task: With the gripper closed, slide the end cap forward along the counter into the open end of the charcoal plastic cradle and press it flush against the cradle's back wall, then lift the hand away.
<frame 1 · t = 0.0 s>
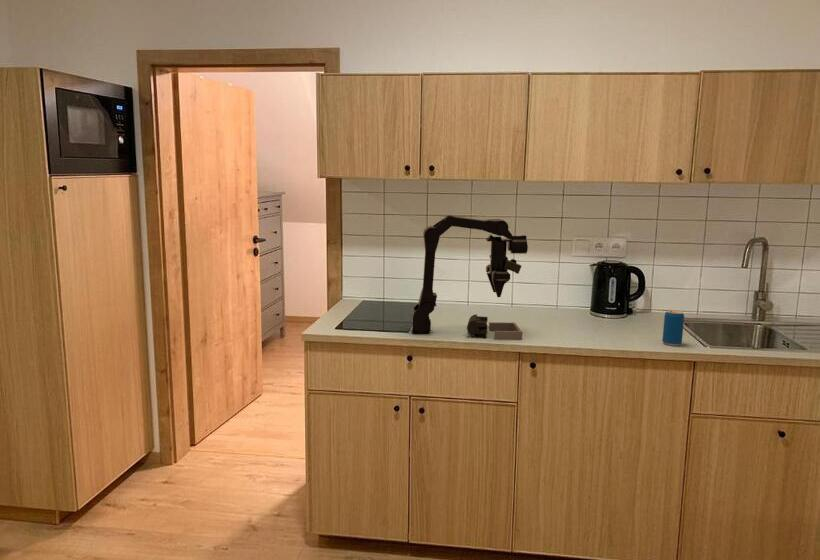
hand: (496, 294, 238), 15 cm above the worktop, tool pointing down, fingers open, 9 cm apart
lens cradle: (503, 334, 238), on the worktop
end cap: (477, 335, 238), on the worktop
beverage can: (671, 344, 229), on the worktop
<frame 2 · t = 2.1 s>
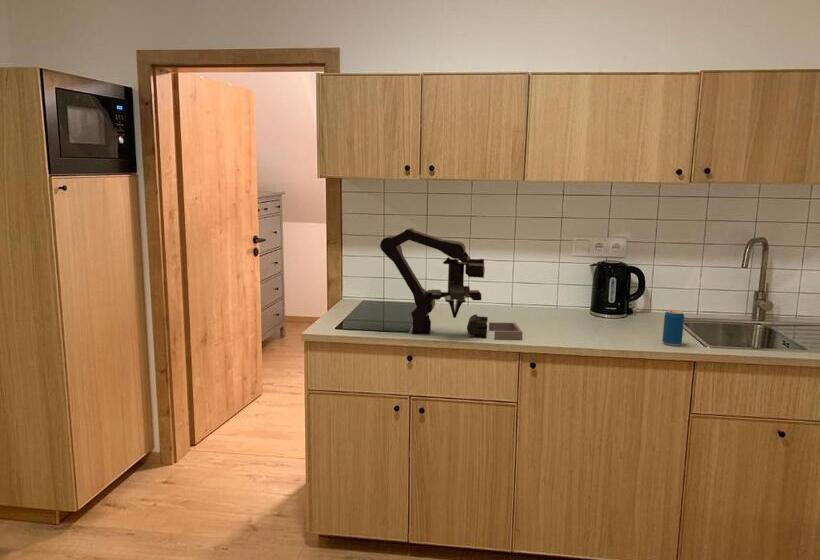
hand: (454, 317, 236), 6 cm above the worktop, tool pointing down, fingers closed
nothing on the worktop moved.
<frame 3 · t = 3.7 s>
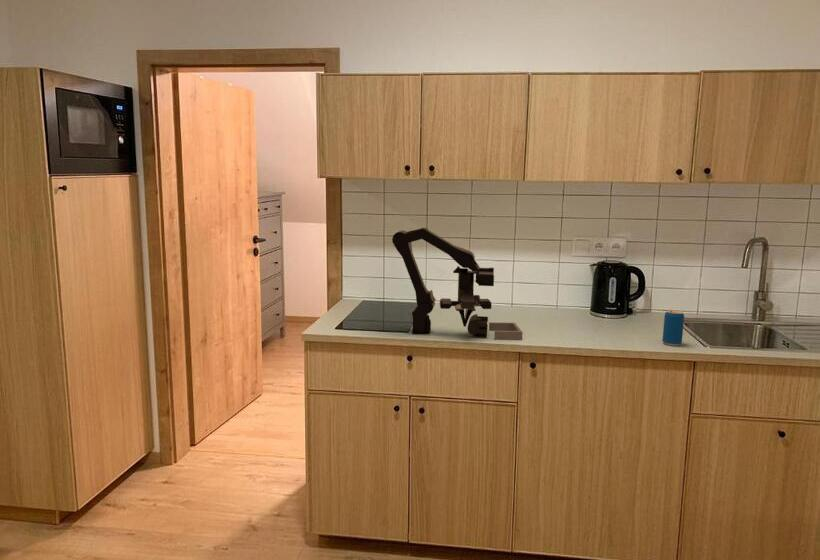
hand: (464, 326, 237), 3 cm above the worktop, tool pointing down, fingers closed
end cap: (477, 335, 238), on the worktop, touching gripper
everything else where it was.
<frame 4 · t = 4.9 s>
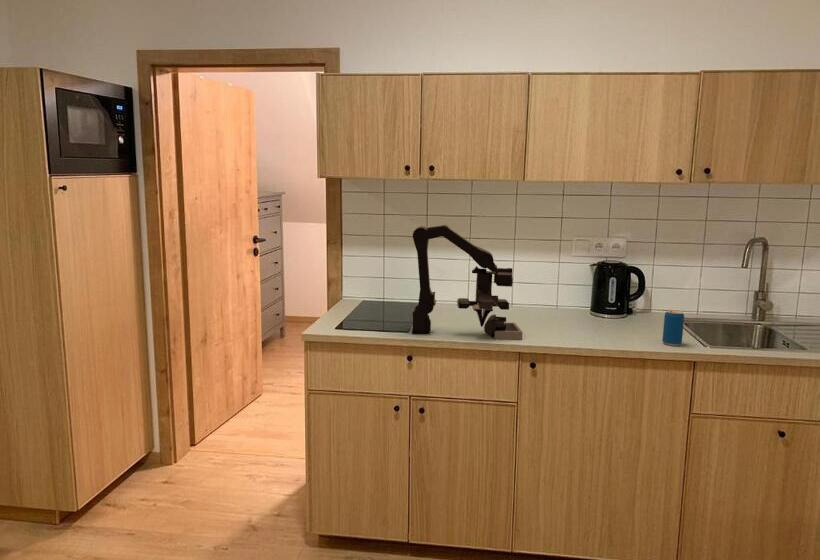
hand: (481, 326, 237), 3 cm above the worktop, tool pointing down, fingers closed
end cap: (494, 335, 237), on the worktop, touching gripper
everything else where it was.
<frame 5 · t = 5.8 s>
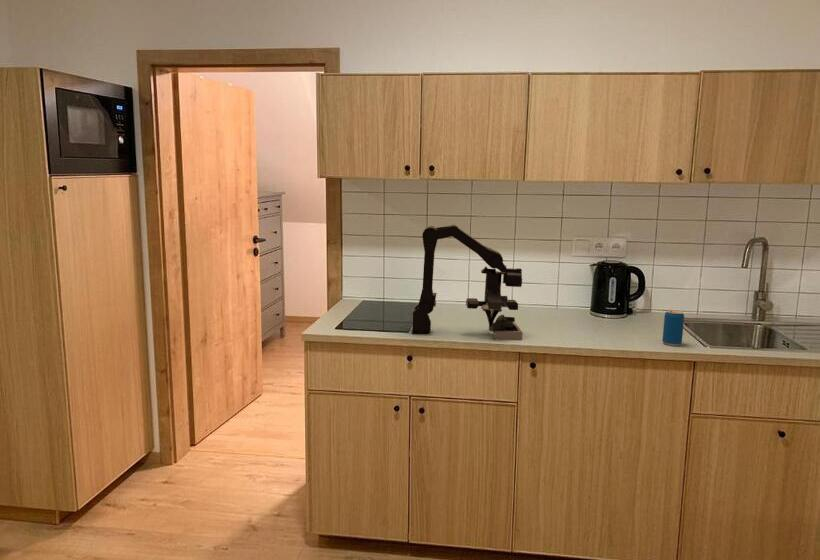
hand: (490, 326, 237), 3 cm above the worktop, tool pointing down, fingers closed
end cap: (503, 335, 238), on the worktop, touching gripper, lens cradle
everything else where it was.
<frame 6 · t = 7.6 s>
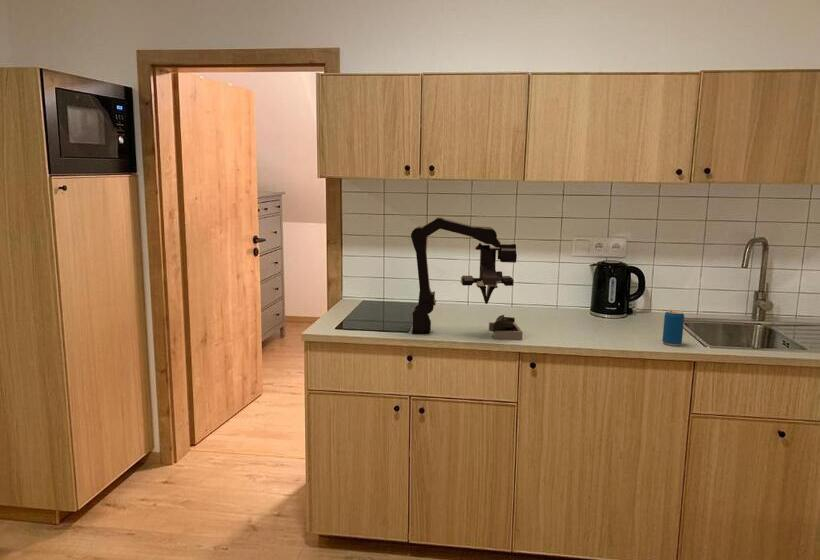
hand: (486, 303, 236), 12 cm above the worktop, tool pointing down, fingers closed
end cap: (503, 336, 238), on the worktop
everything else where it was.
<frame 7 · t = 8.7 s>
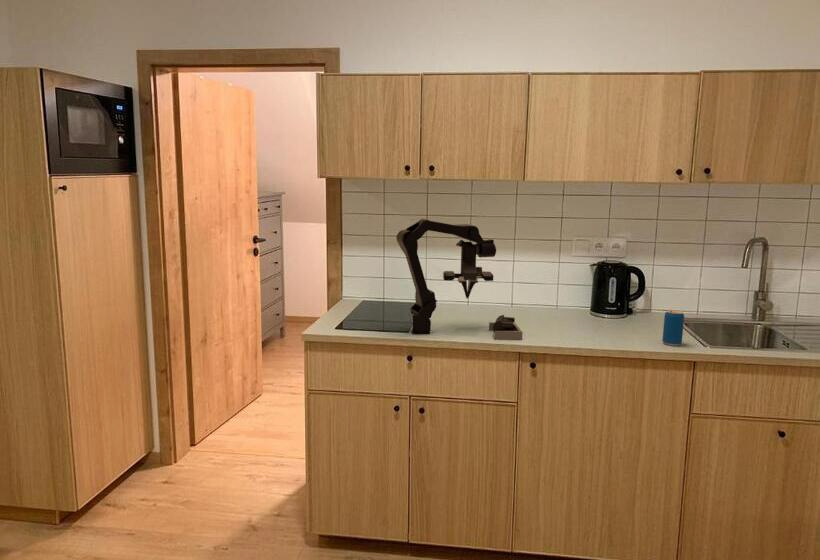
hand: (467, 298, 244), 12 cm above the worktop, tool pointing down, fingers closed
nothing on the worktop moved.
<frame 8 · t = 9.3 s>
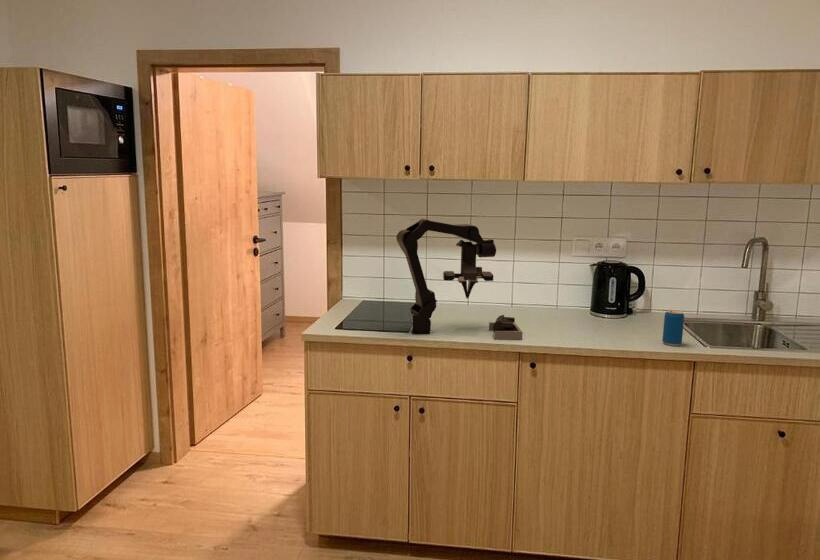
hand: (467, 298, 244), 12 cm above the worktop, tool pointing down, fingers closed
nothing on the worktop moved.
at the end: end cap 0.7 cm off-centre on the lens cradle, point 0.0 cm above the lens cradle's base; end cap tilted 0° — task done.
